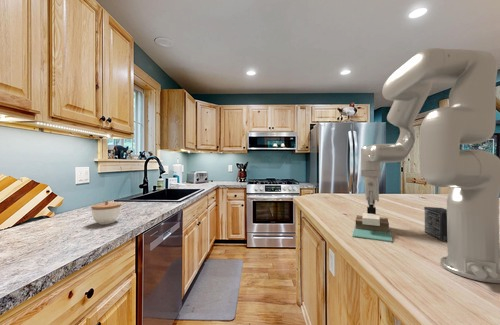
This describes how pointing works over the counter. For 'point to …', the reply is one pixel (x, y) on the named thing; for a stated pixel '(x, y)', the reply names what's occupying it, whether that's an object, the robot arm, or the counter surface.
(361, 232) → the teal mat
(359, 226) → the walnut riser
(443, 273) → the counter surface
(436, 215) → the small box
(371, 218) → the cream tile
